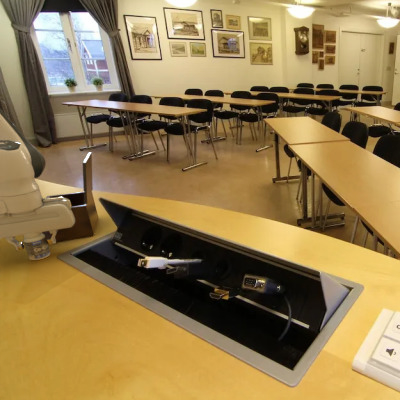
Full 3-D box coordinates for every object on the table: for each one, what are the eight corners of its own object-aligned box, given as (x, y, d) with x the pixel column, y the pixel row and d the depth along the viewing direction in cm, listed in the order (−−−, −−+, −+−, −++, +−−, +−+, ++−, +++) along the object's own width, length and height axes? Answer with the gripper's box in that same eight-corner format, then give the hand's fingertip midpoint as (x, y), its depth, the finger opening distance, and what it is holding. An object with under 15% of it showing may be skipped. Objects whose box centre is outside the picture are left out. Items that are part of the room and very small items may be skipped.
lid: (82, 162, 97) (85, 162, 97) (88, 152, 110) (91, 152, 110) (84, 204, 101) (87, 204, 101) (89, 189, 113) (92, 189, 114)
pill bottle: (38, 261, 90) (29, 235, 87) (25, 259, 91) (15, 233, 88) (55, 253, 94) (46, 227, 91) (41, 251, 95) (33, 226, 92)
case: (45, 244, 99) (35, 212, 95) (55, 224, 112) (47, 195, 108) (94, 235, 105) (86, 205, 101) (98, 218, 118) (91, 190, 114)
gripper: (70, 192, 94) (82, 234, 99) (-25, 203, 85) (-6, 249, 90) (66, 199, 89) (79, 243, 94) (-35, 211, 79) (-15, 259, 84)
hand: (37, 246), depth 92 cm, fingers open, 6 cm apart
